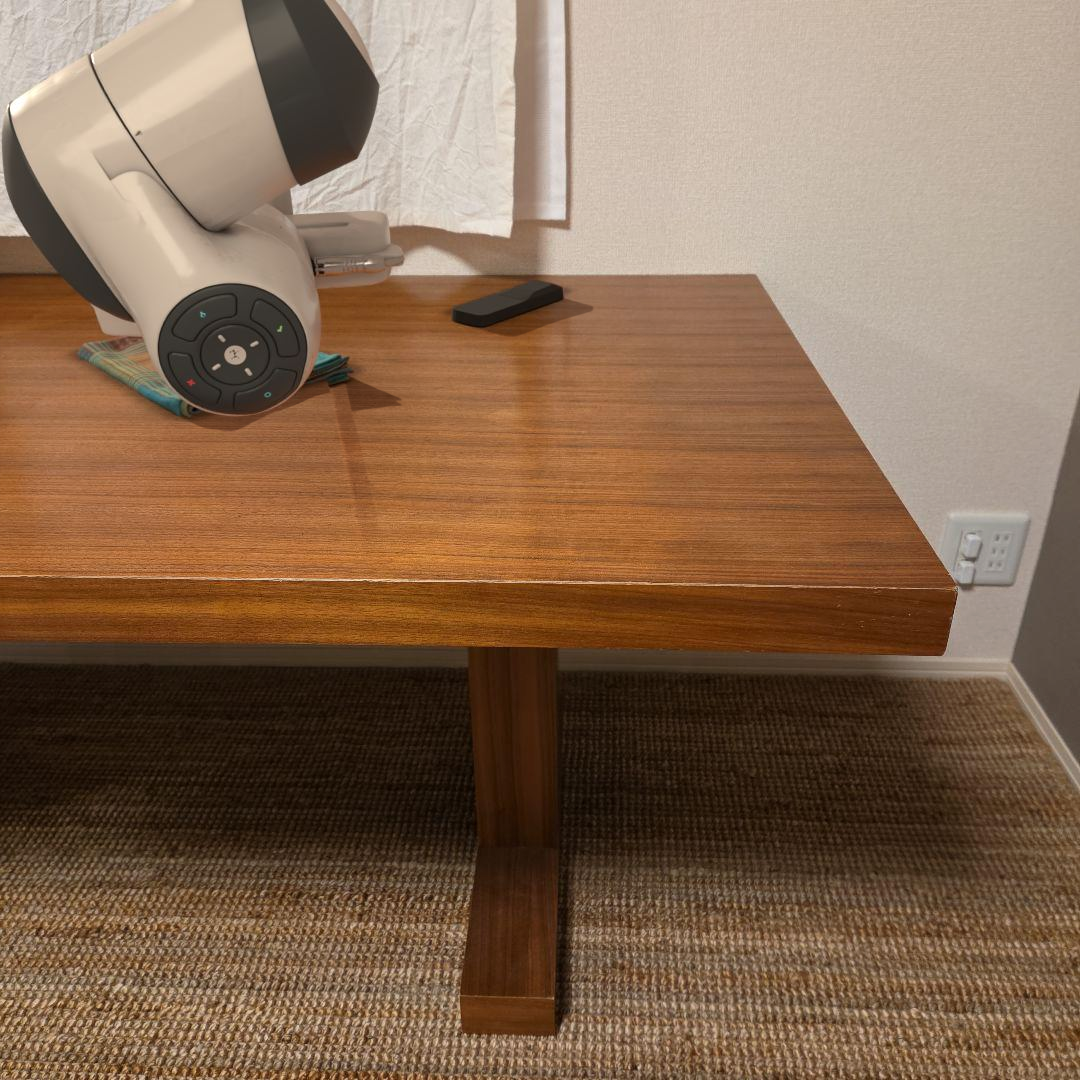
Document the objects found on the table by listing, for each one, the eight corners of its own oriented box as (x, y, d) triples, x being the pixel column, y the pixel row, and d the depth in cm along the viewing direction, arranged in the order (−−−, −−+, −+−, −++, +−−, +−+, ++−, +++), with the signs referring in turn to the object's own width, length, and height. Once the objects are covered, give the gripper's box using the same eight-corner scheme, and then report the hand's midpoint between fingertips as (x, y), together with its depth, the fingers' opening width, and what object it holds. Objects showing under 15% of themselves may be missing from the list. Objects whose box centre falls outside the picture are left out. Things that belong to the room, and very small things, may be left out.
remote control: (481, 333, 108) (567, 297, 118) (480, 316, 107) (566, 282, 117) (448, 324, 111) (534, 290, 121) (447, 308, 110) (534, 275, 120)
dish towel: (184, 430, 84) (178, 401, 82) (74, 363, 99) (68, 337, 98) (357, 380, 94) (354, 353, 93) (234, 326, 109) (230, 303, 108)
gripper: (405, 212, 62) (381, 176, 74) (50, 231, 58) (85, 190, 70) (412, 313, 65) (388, 263, 77) (75, 338, 61) (104, 281, 73)
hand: (241, 228), depth 73 cm, fingers closed on can, 7 cm apart
